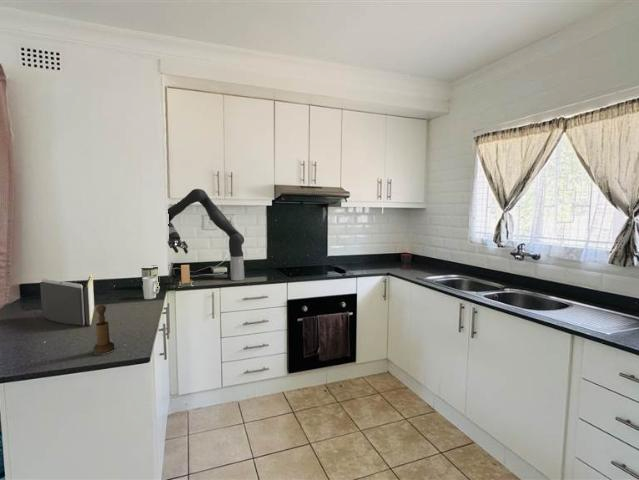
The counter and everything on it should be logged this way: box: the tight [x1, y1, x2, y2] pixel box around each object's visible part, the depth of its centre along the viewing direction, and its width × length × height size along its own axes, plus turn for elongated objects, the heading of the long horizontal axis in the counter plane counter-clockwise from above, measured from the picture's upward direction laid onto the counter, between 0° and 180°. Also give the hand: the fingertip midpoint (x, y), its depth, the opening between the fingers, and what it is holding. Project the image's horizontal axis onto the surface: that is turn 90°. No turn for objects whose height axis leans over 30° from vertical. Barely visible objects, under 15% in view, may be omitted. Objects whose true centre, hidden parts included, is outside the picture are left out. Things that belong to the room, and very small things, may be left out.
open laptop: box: [39, 273, 95, 326], centre depth 166 cm, size 35×22×20 cm, turn 68°
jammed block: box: [180, 264, 191, 284], centre depth 232 cm, size 5×4×12 cm
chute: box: [178, 279, 195, 287], centre depth 229 cm, size 10×12×2 cm
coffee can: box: [140, 267, 158, 290], centre depth 220 cm, size 10×10×14 cm
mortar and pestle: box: [92, 304, 115, 354], centre depth 127 cm, size 7×6×18 cm
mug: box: [142, 277, 161, 300], centre depth 198 cm, size 10×7×12 cm, turn 77°
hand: (182, 252), depth 235 cm, fingers open, 8 cm apart
